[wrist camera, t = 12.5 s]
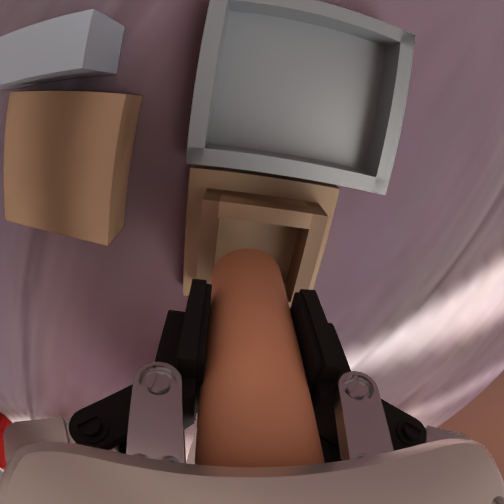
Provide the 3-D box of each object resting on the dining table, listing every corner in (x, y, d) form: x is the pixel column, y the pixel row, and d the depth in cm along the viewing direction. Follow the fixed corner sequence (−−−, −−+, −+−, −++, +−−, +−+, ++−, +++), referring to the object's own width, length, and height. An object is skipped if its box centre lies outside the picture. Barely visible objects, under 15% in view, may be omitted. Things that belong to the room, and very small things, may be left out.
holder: (185, 286, 19) (177, 315, 16) (193, 164, 15) (182, 176, 13) (304, 298, 20) (312, 328, 17) (334, 184, 16) (352, 200, 13)
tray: (194, 155, 15) (185, 163, 13) (217, 2, 11) (213, -15, 9) (367, 182, 16) (385, 195, 14) (393, 42, 12) (415, 35, 10)
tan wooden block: (30, 203, 16) (5, 220, 14) (38, 90, 13) (9, 92, 10) (125, 224, 17) (107, 245, 15) (145, 96, 14) (125, 94, 11)
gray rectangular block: (17, 88, 12) (-24, 92, 8) (22, 47, 11) (-16, 44, 7) (116, 74, 13) (82, 68, 9) (125, 26, 11) (93, 8, 8)
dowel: (209, 303, 14) (193, 514, 5) (215, 244, 13) (190, 489, 4) (274, 309, 15) (307, 512, 6) (287, 252, 13) (354, 481, 4)
